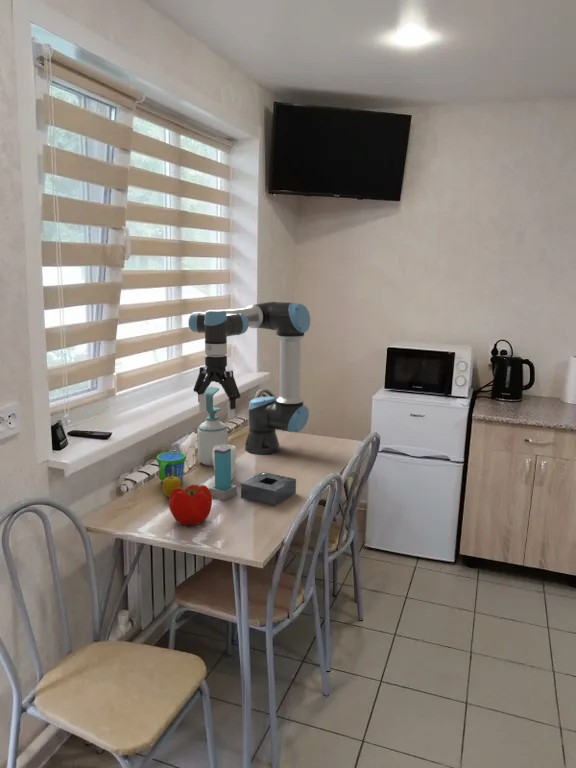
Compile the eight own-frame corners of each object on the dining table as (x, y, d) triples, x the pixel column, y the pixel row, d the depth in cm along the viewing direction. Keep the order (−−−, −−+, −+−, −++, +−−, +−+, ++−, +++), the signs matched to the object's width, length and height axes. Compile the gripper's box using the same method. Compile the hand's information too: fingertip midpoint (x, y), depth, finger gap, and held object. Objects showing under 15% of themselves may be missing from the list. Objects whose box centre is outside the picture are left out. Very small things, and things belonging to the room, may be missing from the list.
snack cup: (172, 491, 218) (171, 464, 216) (147, 486, 222) (146, 460, 220) (194, 477, 232) (194, 451, 230) (171, 473, 236) (170, 448, 234)
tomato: (176, 533, 184) (175, 497, 181) (166, 515, 197) (164, 481, 194) (218, 526, 189) (217, 491, 187) (205, 509, 202) (205, 476, 199)
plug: (222, 492, 217) (221, 446, 214) (231, 494, 215) (230, 448, 212) (215, 495, 214) (214, 449, 211) (224, 497, 212) (223, 451, 209)
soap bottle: (233, 460, 252) (233, 387, 246) (217, 469, 241) (216, 392, 235) (209, 456, 257) (208, 384, 251) (191, 464, 246) (190, 389, 240)
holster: (221, 489, 219) (221, 482, 219) (237, 493, 216) (236, 485, 215) (209, 496, 213) (209, 488, 213) (225, 500, 210) (225, 492, 209)
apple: (159, 498, 211) (158, 476, 209) (169, 492, 217) (168, 471, 215) (175, 501, 208) (174, 479, 207) (184, 495, 214) (184, 473, 213)
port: (263, 485, 224) (263, 470, 222) (295, 493, 217) (295, 478, 215) (240, 498, 212) (240, 482, 211) (274, 506, 205) (274, 490, 204)
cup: (232, 483, 226) (232, 452, 224) (209, 481, 228) (208, 450, 226) (239, 474, 235) (239, 445, 233) (216, 473, 237) (216, 443, 234)
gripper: (182, 352, 214) (184, 411, 218) (235, 360, 199) (236, 422, 203) (198, 350, 220) (199, 407, 224) (250, 357, 205) (250, 418, 209)
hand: (216, 414), depth 214 cm, fingers open, 13 cm apart
